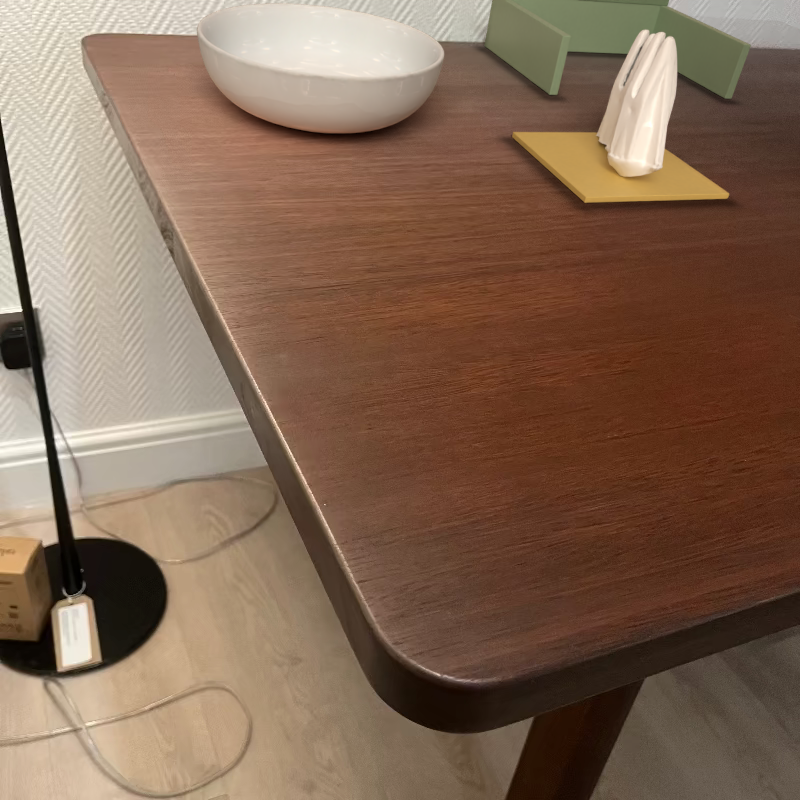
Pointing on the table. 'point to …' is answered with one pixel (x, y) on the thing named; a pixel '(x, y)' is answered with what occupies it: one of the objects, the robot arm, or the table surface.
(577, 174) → the board
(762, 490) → the table surface
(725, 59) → the cubby
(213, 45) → the serving bowl
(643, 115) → the white ridged piece
